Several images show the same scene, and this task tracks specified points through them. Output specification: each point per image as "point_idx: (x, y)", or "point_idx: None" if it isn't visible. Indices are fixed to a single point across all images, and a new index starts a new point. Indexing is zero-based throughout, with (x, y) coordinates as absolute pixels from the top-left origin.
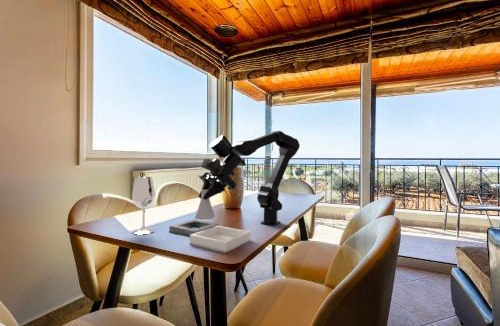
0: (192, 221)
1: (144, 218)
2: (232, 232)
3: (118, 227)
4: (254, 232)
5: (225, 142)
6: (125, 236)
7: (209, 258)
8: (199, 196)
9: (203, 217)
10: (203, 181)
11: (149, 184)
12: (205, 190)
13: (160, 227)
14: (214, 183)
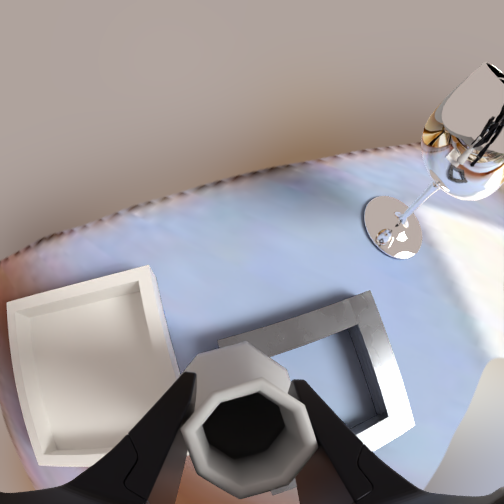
0: (389, 408)
1: (417, 204)
2: (105, 450)
3: (453, 200)
4: None
5: None
6: (366, 174)
7: (32, 254)
8: (293, 384)
9: (189, 367)
10: (448, 495)
11: (479, 103)
12: (286, 461)
13: (422, 292)
14: (42, 497)
